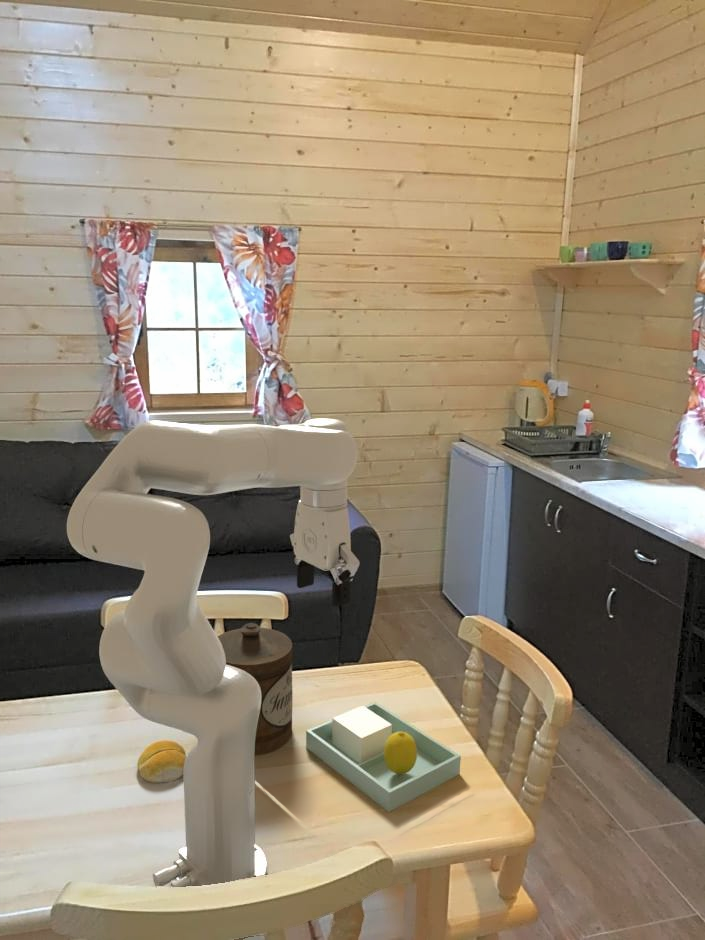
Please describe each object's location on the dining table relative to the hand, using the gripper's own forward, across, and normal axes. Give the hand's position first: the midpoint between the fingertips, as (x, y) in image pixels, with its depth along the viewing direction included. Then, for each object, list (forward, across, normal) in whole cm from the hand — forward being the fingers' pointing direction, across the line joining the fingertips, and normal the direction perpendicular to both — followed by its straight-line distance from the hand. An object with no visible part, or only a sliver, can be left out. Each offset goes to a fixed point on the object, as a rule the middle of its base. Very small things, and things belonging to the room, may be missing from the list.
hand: (322, 594), depth 133 cm
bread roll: (+31, -14, -23) cm, 41 cm away
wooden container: (+31, -13, -6) cm, 34 cm away
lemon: (+30, +13, +7) cm, 33 cm away
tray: (+30, +8, +7) cm, 32 cm away
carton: (+30, +3, +7) cm, 31 cm away
